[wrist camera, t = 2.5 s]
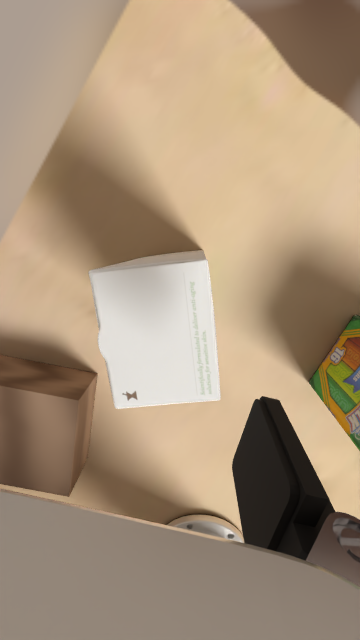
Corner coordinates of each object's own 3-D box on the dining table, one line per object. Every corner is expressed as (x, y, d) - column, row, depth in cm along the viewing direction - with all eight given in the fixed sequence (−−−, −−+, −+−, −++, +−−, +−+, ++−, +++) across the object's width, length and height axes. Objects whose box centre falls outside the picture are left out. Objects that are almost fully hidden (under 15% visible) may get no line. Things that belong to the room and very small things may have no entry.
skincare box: (210, 325, 31) (226, 408, 16) (150, 331, 32) (111, 416, 17) (203, 245, 29) (214, 256, 14) (138, 253, 29) (81, 271, 14)
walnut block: (98, 372, 34) (78, 400, 28) (88, 456, 37) (69, 496, 31) (-4, 352, 34) (-45, 377, 28) (-5, 438, 37) (-42, 476, 31)
